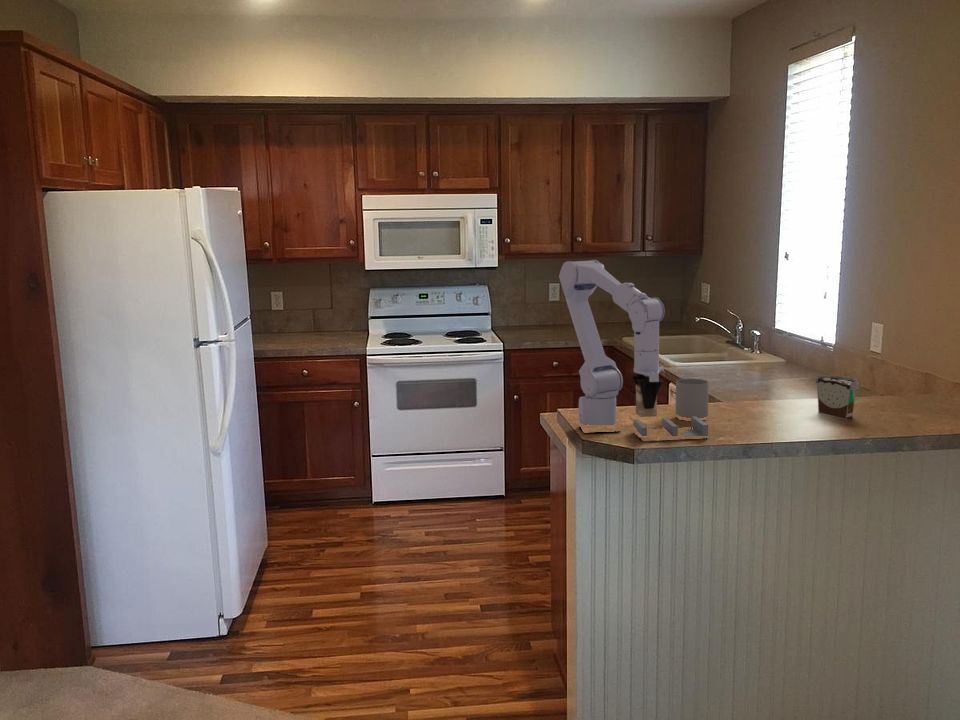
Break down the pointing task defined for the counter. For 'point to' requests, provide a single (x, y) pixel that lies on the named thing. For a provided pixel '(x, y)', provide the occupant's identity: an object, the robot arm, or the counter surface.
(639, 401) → the peg
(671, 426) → the gray i-beam stand
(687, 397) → the cup
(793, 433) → the counter surface
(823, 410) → the food container
